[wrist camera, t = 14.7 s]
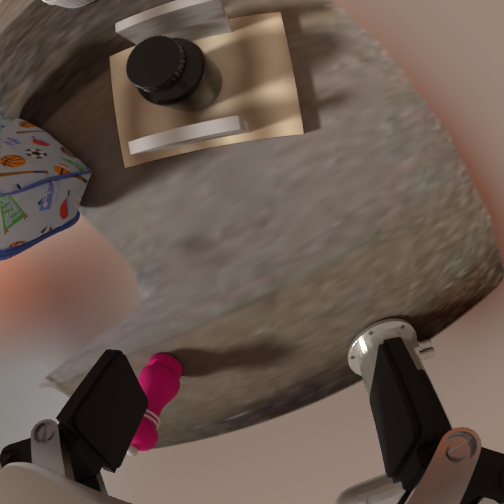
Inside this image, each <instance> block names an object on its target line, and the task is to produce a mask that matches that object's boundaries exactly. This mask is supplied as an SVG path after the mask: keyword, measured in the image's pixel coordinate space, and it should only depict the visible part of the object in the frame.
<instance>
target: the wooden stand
mask: <svg viewBox="0 0 504 504" xmlns="http://www.w3.org/2000/svg"><path fill="white" fill-rule="evenodd" d="M115 27H116V33H117V34H119V35H121V36H123V37H124V38H126V39H128V40H130V41H131V42H133V43H135V44H136V46H137V45H138V44H139V43H140V42H142V41H143V40H145V39H148V38H149V37H153V36H160V35H161V36H167V37H170V38H184V39H188V40H190V41H192V42H194V43H195V44H197V45H198V46H199V47H200V48H201V49H202V50H203V51H204V52H205V54H206V55H207V56H208V57H209V58H210V59H211V60H212V61H213V62H214V64H215V65H216V66H217V67H218V69H219V70H220V73H221V76H222V88H221V91H220V94H219V96H218V97H217V99H216V100H215V101H214V102H213V103H212V104H211V105H209V106H208V107H206V108H204V109H202V110H199V111H195V112H186V111H180V110H176V109H172V108H168V107H164V106H159V105H156V104H153V103H150V102H149V101H147V100H145V99H144V98H143V97H142V96H141V95H140V93H139V92H138V90H137V87H135V86H134V84H132V83H131V81H130V80H128V76H127V72H126V64H127V60H128V58H129V55H130V54H131V51H132V50H133V49H134V48H135V46H133V47H131V48H128V49H126V50H124V51H121V52H119V53H117V54H114V55H112V56H110V70H111V81H112V90H113V98H114V106H115V114H116V120H117V127H118V133H119V139H120V145H121V151H122V156H123V161H124V166H125V168H127V167H131V166H135V165H139V164H142V163H146V162H150V161H154V160H158V159H162V158H166V157H170V156H174V155H178V154H183V153H187V152H192V151H197V150H201V149H206V148H212V147H217V146H222V145H228V144H234V143H240V142H246V141H252V140H259V139H266V138H274V137H282V136H291V135H300V134H304V132H303V125H302V119H301V112H300V106H299V100H298V94H297V89H296V83H295V78H294V73H293V67H292V62H291V57H290V52H289V48H288V43H287V38H286V34H285V29H284V25H283V21H282V17H281V13H280V12H274V13H264V14H256V15H249V16H243V17H237V18H231V19H228V17H227V15H226V12H225V10H224V7H223V5H222V3H221V0H176V1H173V2H170V3H167V4H164V5H161V6H158V7H155V8H152V9H149V10H147V11H144V12H142V13H139V14H136V15H134V16H132V17H129V18H127V19H124V20H122V21H120V22H118V23H116V24H115Z"/></svg>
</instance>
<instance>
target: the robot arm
mask: <svg viewBox="0 0 504 504" xmlns="http://www.w3.org/2000/svg"><path fill="white" fill-rule="evenodd" d="M431 345H432V343H431V340H430V339H428V340H424V341H422V342H419V341H417V336H416V332H415V330H414V328H413V327H412V325H411V324H410V323H409V322H407V321H405V320H403V319H398V318H390V319H384V320H381V321H378V322H376V323H374V324H372V325H370V326H368V327H367V328H365V329H364V330H362V331H361V332H360V333H359V334H358V335H357V336H356V337H355V338H354V340H353V341H352V343H351V344H350V347H349V349H348V354H347V358H348V363H349V366H350V368H351V369H352V370H353V371H354V372H355V373H357V374H359V375H361V376H362V377H363V381H364V384H365V387H366V391H367V394H368V398H369V401H370V405H371V409H372V413H373V417H374V421H375V425H376V429H377V434H378V438H379V442H380V447H381V451H382V456H383V461H384V466H385V471H386V473H384V474H381V475H378V476H376V477H373V478H371V479H368V480H366V481H363V482H361V483H358V484H355V485H353V486H351V487H349V488H347V489H345V490H344V491H343V492H341V493H340V495H339V496H338V497H337V499H336V502H335V504H504V454H502V453H499V452H496V451H492V450H489V449H486V448H483V447H481V440H480V438H479V436H478V434H477V433H476V432H475V431H473V430H472V429H469V428H465V427H459V428H454V427H453V425H452V423H451V421H450V419H449V417H448V415H447V413H446V410H445V408H444V406H443V404H442V402H441V400H440V398H439V396H438V394H437V392H436V390H435V388H434V386H433V384H432V381H431V379H430V378H429V376H428V374H427V372H426V370H425V368H424V366H423V364H422V362H421V360H423V359H429V358H432V357H434V355H435V352H434V348H433V347H431ZM428 347H430V348H428ZM422 348H426V349H423V350H421V351H420V349H422ZM148 404H149V401H148V398H147V396H146V394H145V393H144V391H143V389H142V387H141V385H140V383H139V381H138V380H137V378H136V376H135V374H134V372H133V370H132V368H131V366H130V364H129V362H128V360H127V357H126V356H125V355H124V354H123V353H122V352H121V351H120V350H111V349H108V350H106V351H105V352H104V353H103V354H102V356H101V357H100V358H99V360H98V361H97V362H96V364H95V365H94V366H93V368H92V369H91V370H90V372H89V373H88V374H87V376H86V377H85V378H84V380H83V381H82V382H81V384H80V385H79V386H78V388H77V389H76V391H75V392H74V393H73V395H72V396H71V398H70V399H69V401H68V402H67V403H66V405H65V406H64V407H63V409H62V410H61V412H60V413H59V415H58V416H57V417H56V418H57V420H58V421H59V422H60V423H59V424H57V423H56V422H55V421H53V420H51V419H45V420H42V421H40V422H38V423H37V424H36V425H35V426H34V427H33V429H32V431H31V438H29V439H26V440H23V441H20V442H16V443H13V444H10V445H8V446H6V447H5V448H3V450H2V452H1V454H0V504H131V503H128V502H125V501H123V500H119V499H117V498H114V497H111V496H109V495H108V494H107V491H106V488H105V485H104V482H103V479H102V476H101V473H100V470H101V468H103V469H104V470H107V471H110V472H113V473H115V471H116V469H117V468H119V467H120V466H121V464H122V462H123V459H124V457H125V455H126V453H127V451H128V448H129V446H130V444H131V442H132V440H133V438H134V435H135V433H136V431H137V429H138V427H139V425H140V423H141V420H142V418H143V416H144V414H145V412H146V410H147V408H148Z"/></svg>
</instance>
